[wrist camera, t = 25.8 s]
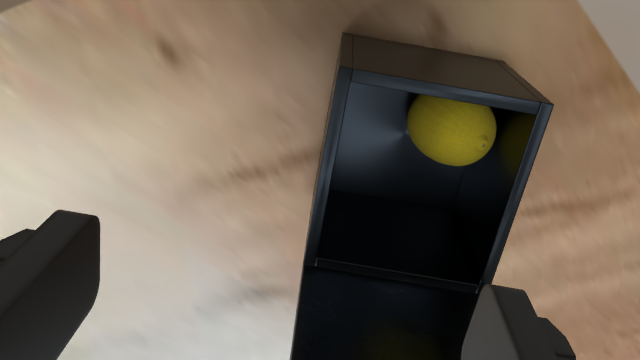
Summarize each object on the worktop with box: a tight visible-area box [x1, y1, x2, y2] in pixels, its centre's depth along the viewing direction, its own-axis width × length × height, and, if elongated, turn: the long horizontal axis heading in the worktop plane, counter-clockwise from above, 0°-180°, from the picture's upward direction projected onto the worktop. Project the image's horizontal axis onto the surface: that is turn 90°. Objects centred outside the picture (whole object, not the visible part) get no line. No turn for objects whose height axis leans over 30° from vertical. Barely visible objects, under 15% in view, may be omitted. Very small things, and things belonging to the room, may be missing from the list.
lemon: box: [407, 94, 497, 166], centre depth 40 cm, size 6×6×8 cm
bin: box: [303, 32, 554, 294], centre depth 40 cm, size 14×13×12 cm
